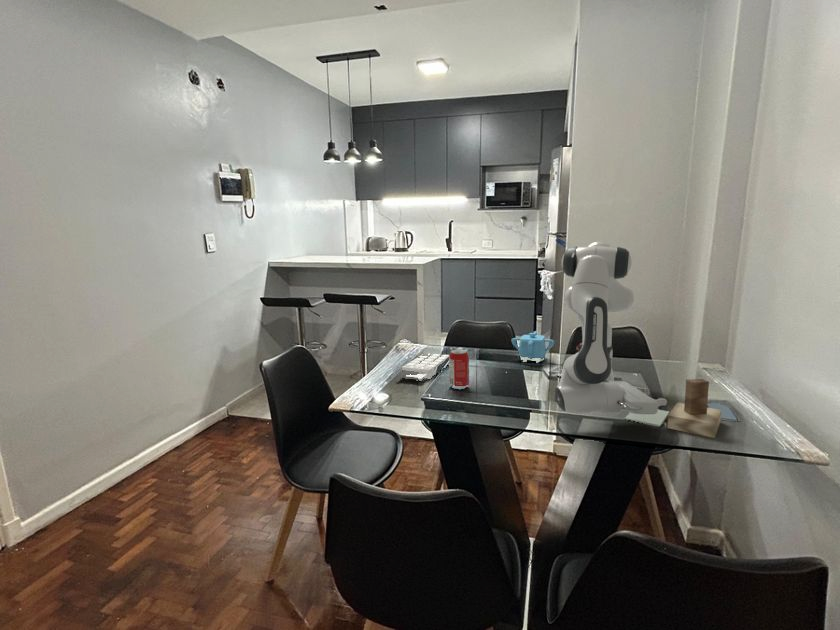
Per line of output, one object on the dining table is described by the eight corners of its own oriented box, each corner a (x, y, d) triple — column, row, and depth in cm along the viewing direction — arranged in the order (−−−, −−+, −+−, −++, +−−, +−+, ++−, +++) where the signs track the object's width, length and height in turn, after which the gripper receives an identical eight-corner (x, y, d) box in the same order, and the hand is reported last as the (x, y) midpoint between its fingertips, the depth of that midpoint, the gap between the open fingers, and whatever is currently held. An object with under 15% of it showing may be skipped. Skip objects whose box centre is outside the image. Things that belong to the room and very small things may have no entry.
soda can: (446, 389, 178) (445, 352, 175) (454, 384, 185) (453, 348, 182) (464, 392, 174) (464, 354, 172) (472, 386, 181) (471, 349, 179)
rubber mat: (624, 419, 143) (624, 418, 143) (636, 407, 154) (636, 405, 154) (659, 427, 137) (659, 425, 137) (669, 413, 148) (669, 411, 147)
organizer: (450, 355, 215) (422, 374, 183) (450, 364, 216) (423, 386, 184) (424, 353, 220) (393, 372, 188) (424, 362, 221) (394, 383, 189)
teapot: (557, 362, 214) (557, 334, 212) (526, 366, 209) (527, 337, 207) (535, 354, 231) (535, 328, 229) (507, 357, 226) (507, 331, 224)
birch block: (667, 428, 136) (668, 415, 135) (676, 414, 147) (677, 402, 146) (714, 437, 128) (715, 424, 128) (720, 422, 139) (721, 410, 139)
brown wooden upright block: (690, 414, 135) (692, 382, 134) (684, 411, 138) (686, 379, 137) (706, 414, 136) (708, 382, 134) (700, 410, 138) (702, 379, 137)
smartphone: (712, 418, 142) (703, 401, 156) (712, 421, 142) (703, 404, 156) (740, 421, 139) (728, 404, 153) (740, 424, 139) (728, 406, 153)
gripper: (627, 399, 125) (677, 397, 125) (597, 377, 145) (640, 376, 146) (626, 420, 126) (675, 419, 126) (597, 396, 146) (639, 395, 146)
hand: (656, 396), depth 136 cm, fingers open, 8 cm apart
